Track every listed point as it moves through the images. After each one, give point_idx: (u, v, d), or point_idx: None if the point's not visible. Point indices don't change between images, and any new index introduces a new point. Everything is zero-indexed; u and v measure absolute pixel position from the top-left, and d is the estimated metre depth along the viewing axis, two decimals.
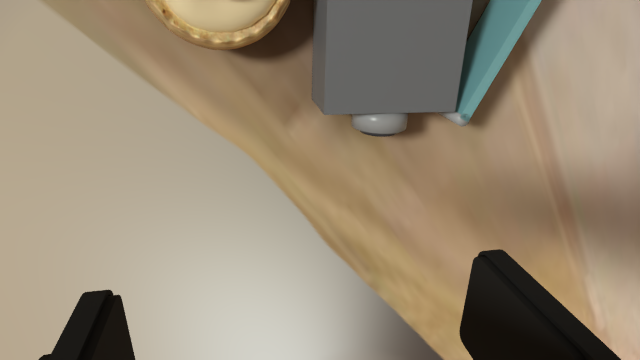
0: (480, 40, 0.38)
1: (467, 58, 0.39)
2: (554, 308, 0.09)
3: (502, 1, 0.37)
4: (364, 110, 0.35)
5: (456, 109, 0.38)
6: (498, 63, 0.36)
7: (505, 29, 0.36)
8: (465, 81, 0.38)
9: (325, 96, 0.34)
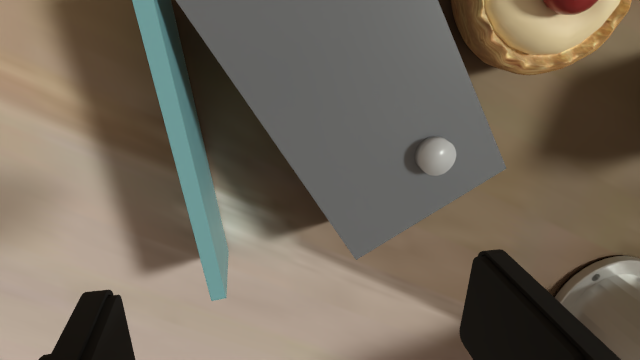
0: (190, 106, 0.26)
1: (184, 75, 0.26)
2: (554, 308, 0.09)
3: (203, 160, 0.28)
4: None
5: None
6: (165, 96, 0.22)
7: (190, 137, 0.24)
8: (171, 44, 0.23)
9: None
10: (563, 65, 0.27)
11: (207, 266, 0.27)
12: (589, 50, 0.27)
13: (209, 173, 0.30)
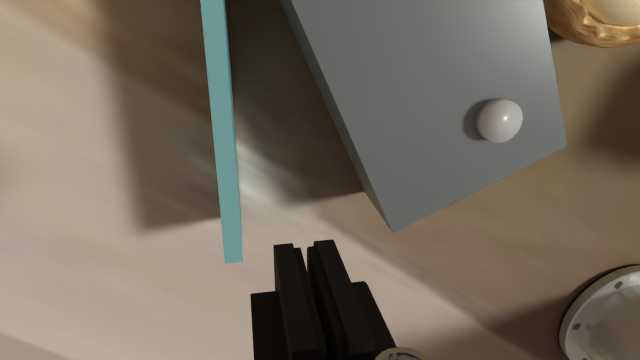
0: (227, 33, 0.22)
1: None
2: (344, 294, 0.09)
3: None
4: None
5: None
6: (210, 3, 0.18)
7: (228, 63, 0.21)
8: None
9: None
10: (639, 40, 0.25)
11: (227, 220, 0.23)
12: None
13: None
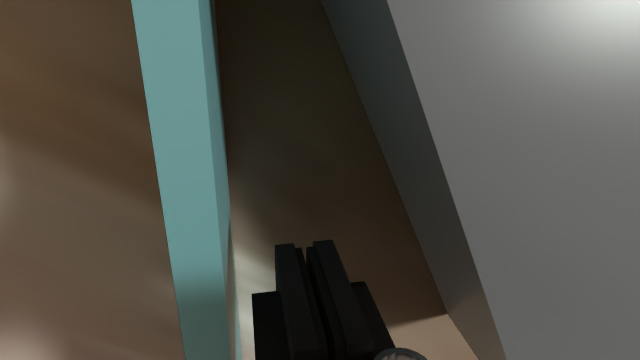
0: (216, 70, 0.10)
1: None
2: (343, 294, 0.09)
3: (226, 200, 0.12)
4: None
5: None
6: (161, 8, 0.06)
7: (215, 153, 0.08)
8: None
9: None
10: None
11: None
12: None
13: (230, 223, 0.14)
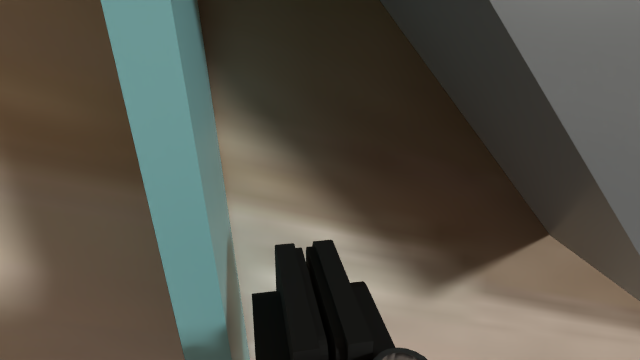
0: (201, 71, 0.10)
1: None
2: (342, 294, 0.09)
3: (221, 203, 0.12)
4: None
5: None
6: (133, 12, 0.06)
7: (203, 156, 0.08)
8: None
9: None
10: None
11: None
12: None
13: (229, 225, 0.14)
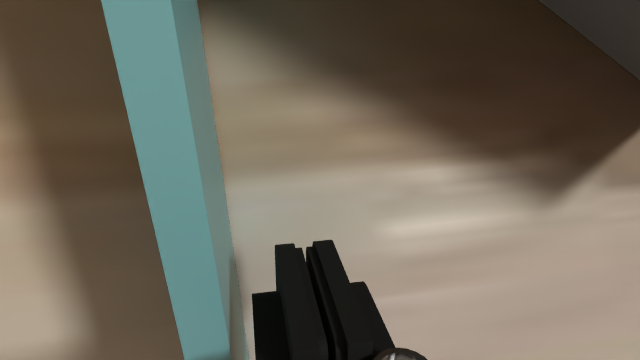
0: (201, 72, 0.10)
1: None
2: (342, 294, 0.09)
3: (221, 203, 0.12)
4: None
5: None
6: (134, 12, 0.06)
7: (203, 156, 0.08)
8: None
9: None
10: None
11: None
12: None
13: (228, 225, 0.14)
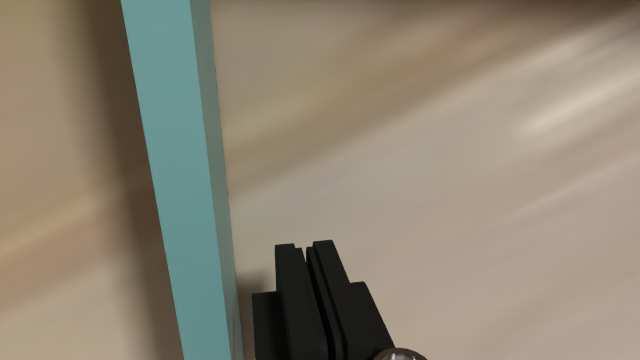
0: (211, 71, 0.10)
1: None
2: (342, 294, 0.09)
3: (225, 203, 0.12)
4: None
5: None
6: (152, 10, 0.06)
7: (211, 156, 0.08)
8: None
9: None
10: None
11: None
12: None
13: (230, 226, 0.14)
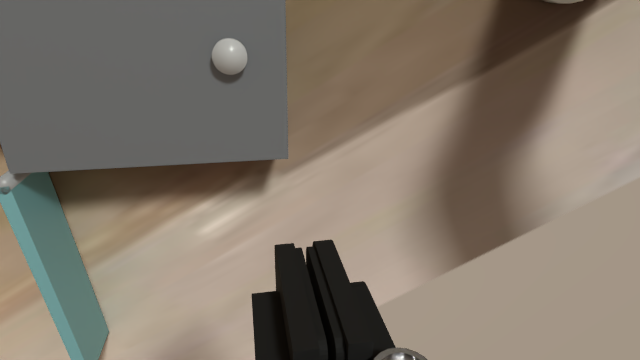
0: (61, 241, 0.36)
1: (55, 221, 0.35)
2: (343, 294, 0.09)
3: (75, 275, 0.37)
4: None
5: (19, 186, 0.31)
6: (28, 251, 0.32)
7: (53, 272, 0.34)
8: (38, 210, 0.33)
9: None
10: None
11: (73, 356, 0.36)
12: None
13: (85, 279, 0.39)
